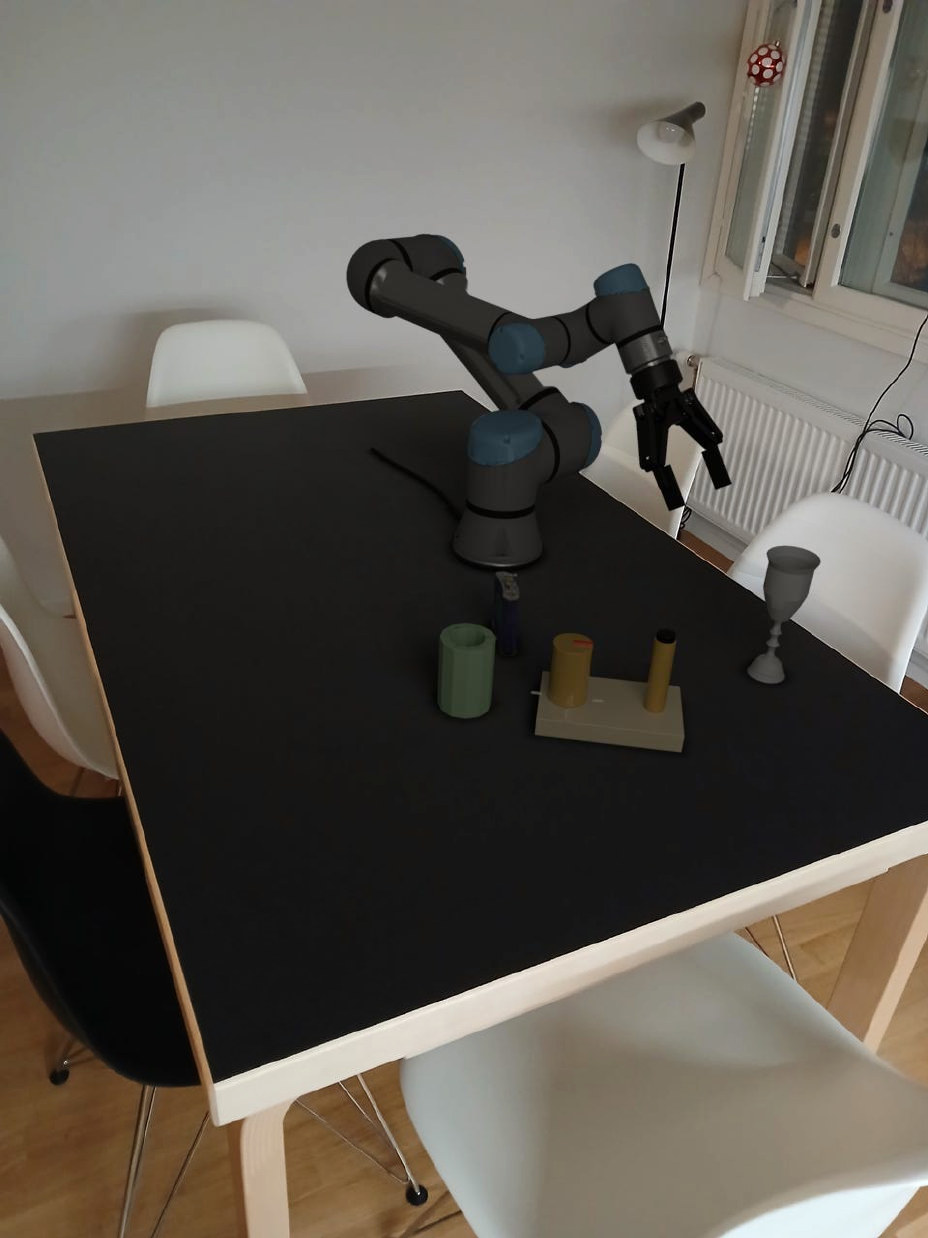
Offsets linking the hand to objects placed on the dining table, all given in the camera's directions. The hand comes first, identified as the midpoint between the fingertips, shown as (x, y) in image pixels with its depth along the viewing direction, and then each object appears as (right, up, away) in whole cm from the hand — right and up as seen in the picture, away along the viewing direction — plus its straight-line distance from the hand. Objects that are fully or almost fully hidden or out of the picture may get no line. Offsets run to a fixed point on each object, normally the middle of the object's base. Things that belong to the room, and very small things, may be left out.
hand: (701, 497), depth 148 cm
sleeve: (-36, -30, -23) cm, 52 cm away
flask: (-31, -22, -8) cm, 38 cm away
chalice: (+6, -26, -13) cm, 30 cm away
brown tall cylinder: (-13, -32, -25) cm, 42 cm away
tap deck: (-18, -31, -24) cm, 44 cm away
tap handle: (-23, -29, -25) cm, 45 cm away
